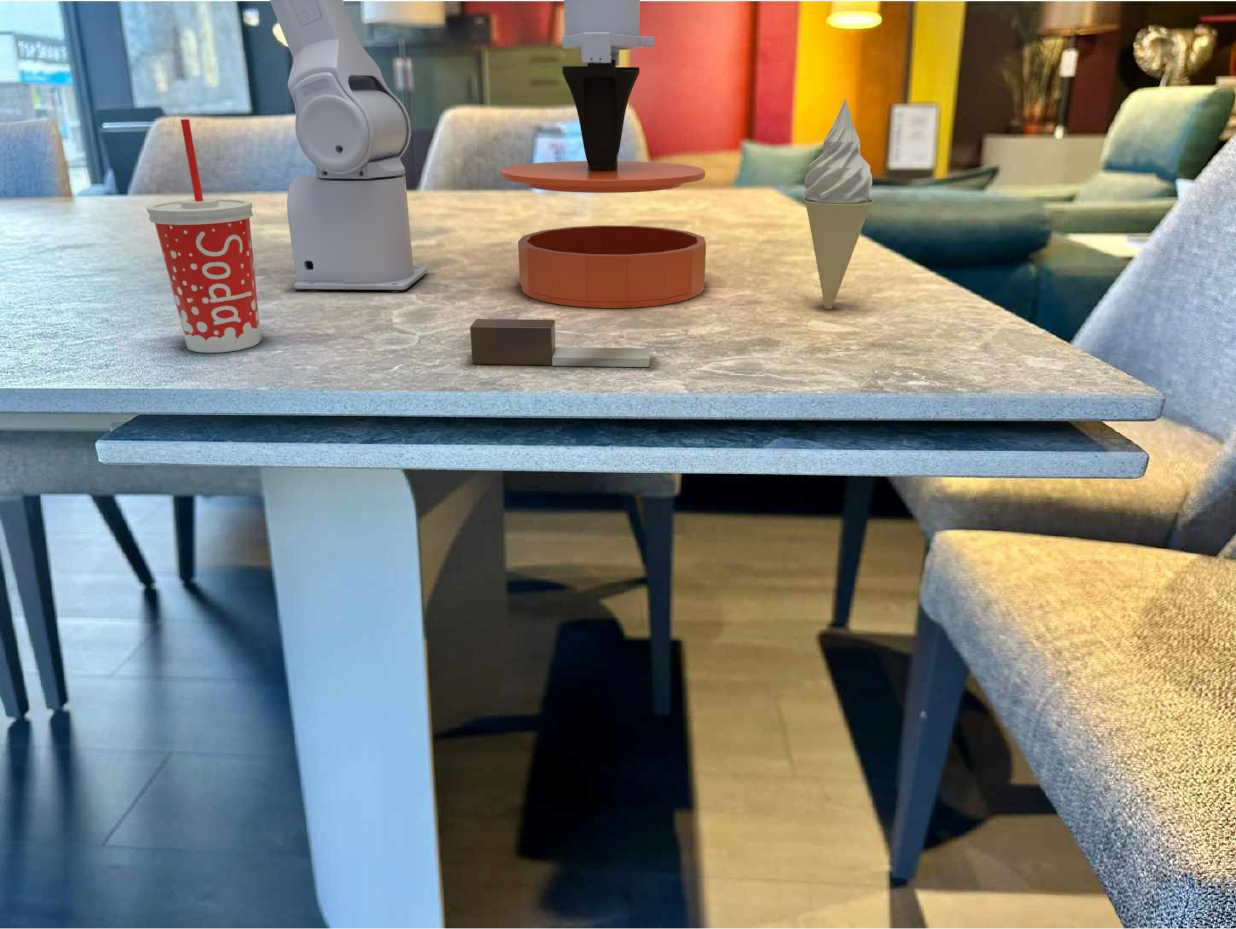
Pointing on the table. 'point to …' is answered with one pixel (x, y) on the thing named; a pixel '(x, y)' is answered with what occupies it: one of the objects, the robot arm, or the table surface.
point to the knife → (541, 346)
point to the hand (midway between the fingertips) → (602, 164)
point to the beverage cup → (209, 265)
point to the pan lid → (602, 176)
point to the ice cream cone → (837, 202)
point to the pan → (612, 266)
